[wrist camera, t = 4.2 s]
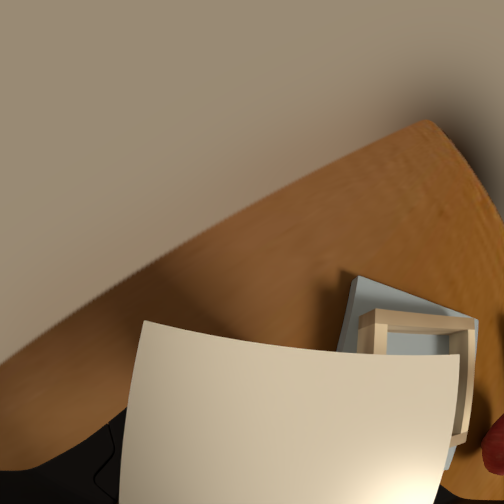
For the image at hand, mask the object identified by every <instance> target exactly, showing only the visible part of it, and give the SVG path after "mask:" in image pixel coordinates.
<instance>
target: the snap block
mask: <svg viewBox="0 0 504 504" xmlns="http://www.w3.org/2000/svg"><path fill="white" fill-rule="evenodd" d="M459 363H460V354H453V355H379V354H358V353H343V352H331V351H319V350H309V349H300V348H291V347H283V346H276V345H268V344H261V343H255V342H248V341H242V340H236V339H230V338H225V337H219V336H214V335H208V334H203V333H198V332H193V331H189V330H184V329H179V328H175V327H170V326H166V325H162V324H158V323H154V322H150V321H146V320H144V322H143V327H142V331H141V336H140V340H139V345H138V350H137V355H136V360H135V365H134V370H133V376H132V381H131V387H130V393H129V400H128V406H127V413H126V421H125V429H124V437H123V447H122V458H121V470H120V488H119V504H433V502H434V499H435V496H436V493H437V490H438V487H439V484H440V481H441V477H442V474H443V470H444V467H445V463H446V459H447V455H448V450H449V446H450V441H451V436H452V430H453V424H454V418H455V411H456V403H457V393H458V381H459Z"/></svg>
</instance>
